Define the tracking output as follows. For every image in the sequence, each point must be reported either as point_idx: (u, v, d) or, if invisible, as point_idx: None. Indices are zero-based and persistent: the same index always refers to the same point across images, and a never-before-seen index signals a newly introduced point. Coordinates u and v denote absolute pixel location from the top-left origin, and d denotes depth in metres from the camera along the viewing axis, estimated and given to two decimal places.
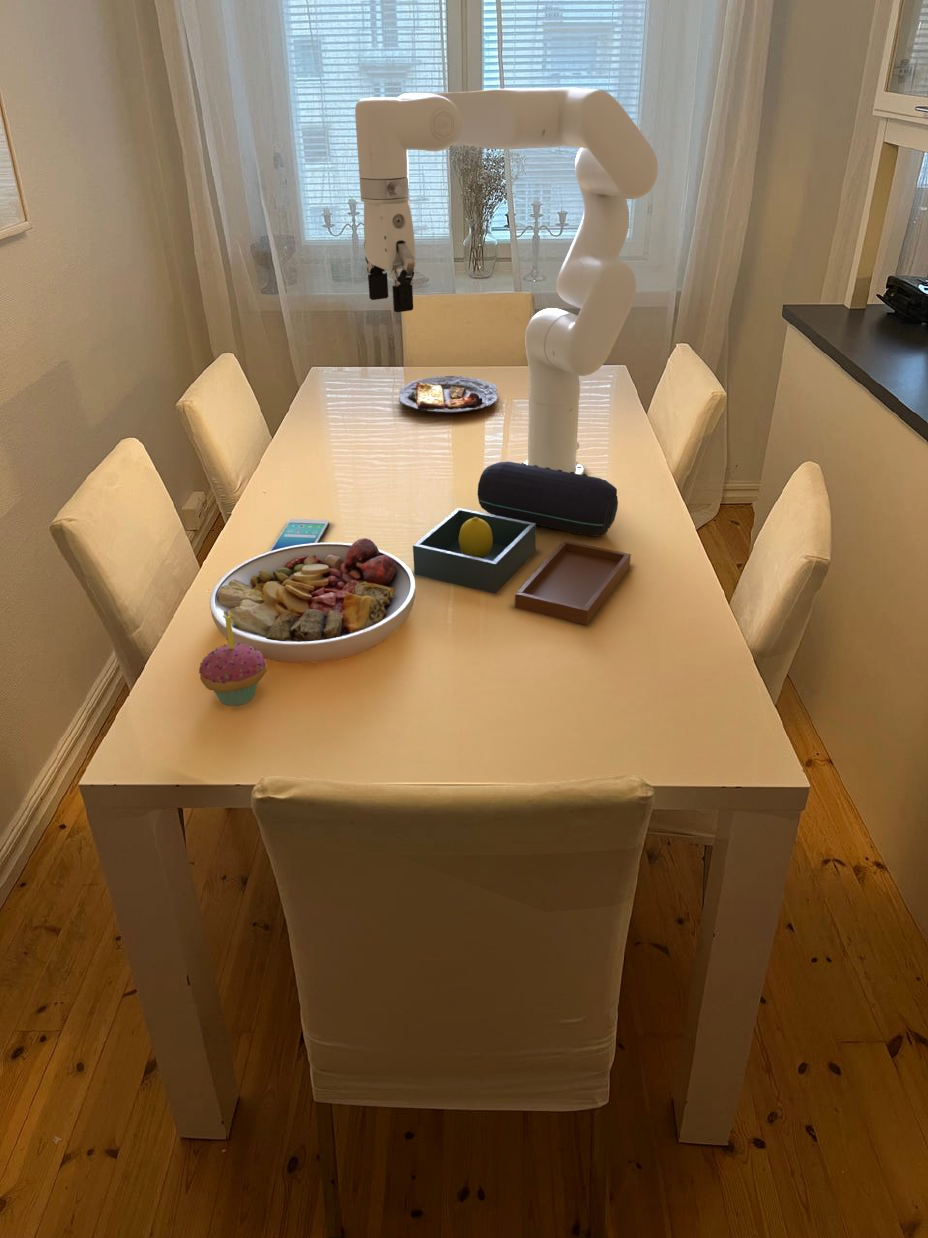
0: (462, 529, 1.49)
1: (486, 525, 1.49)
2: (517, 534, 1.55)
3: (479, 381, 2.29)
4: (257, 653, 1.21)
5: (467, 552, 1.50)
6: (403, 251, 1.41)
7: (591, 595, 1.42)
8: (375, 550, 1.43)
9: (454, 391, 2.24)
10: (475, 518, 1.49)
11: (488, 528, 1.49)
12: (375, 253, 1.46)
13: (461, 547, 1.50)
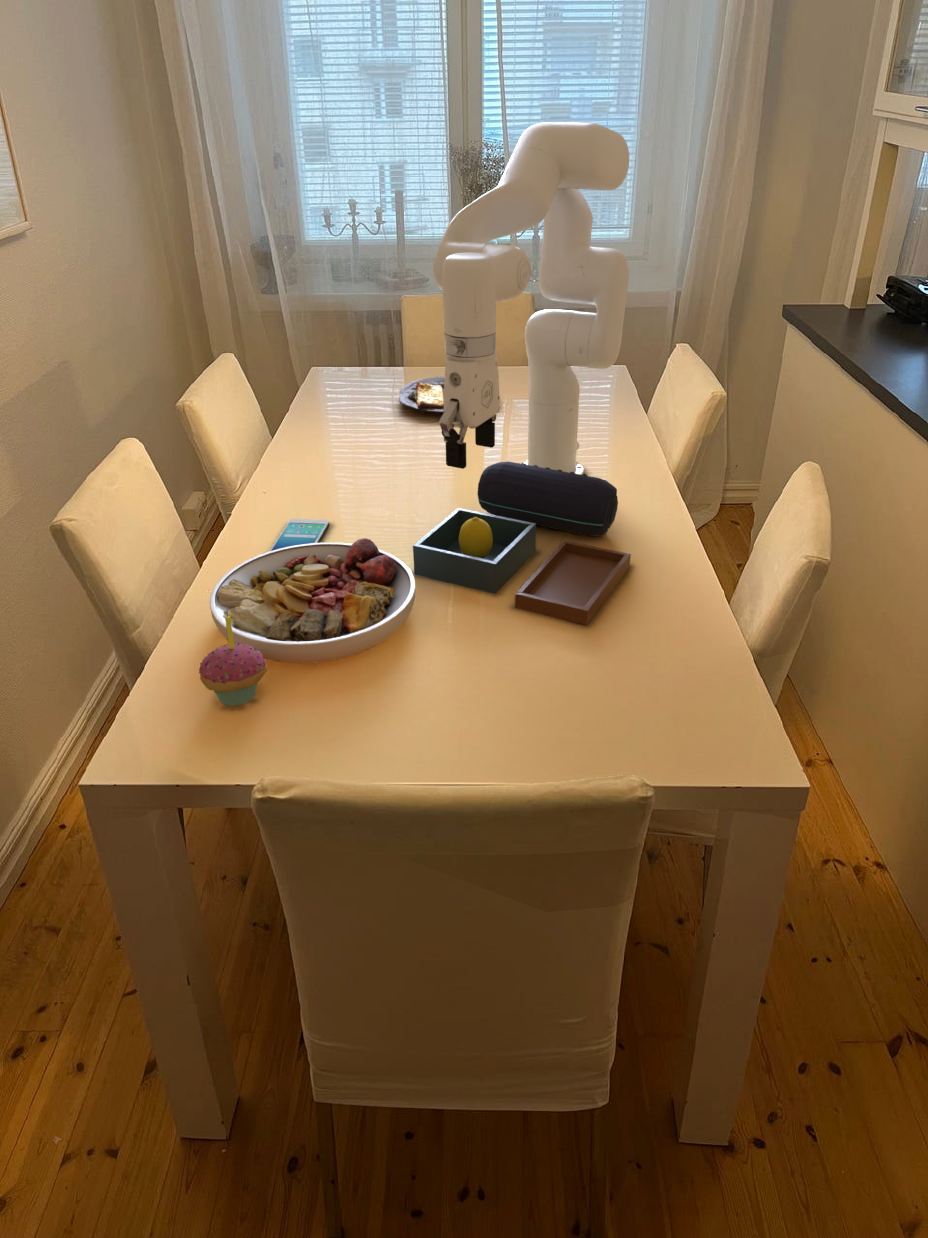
0: (462, 529, 1.49)
1: (486, 525, 1.49)
2: (517, 534, 1.55)
3: None
4: (257, 653, 1.21)
5: (467, 552, 1.50)
6: (445, 410, 1.34)
7: (591, 595, 1.42)
8: (375, 550, 1.43)
9: None
10: (475, 518, 1.49)
11: (488, 528, 1.49)
12: None
13: (461, 547, 1.50)
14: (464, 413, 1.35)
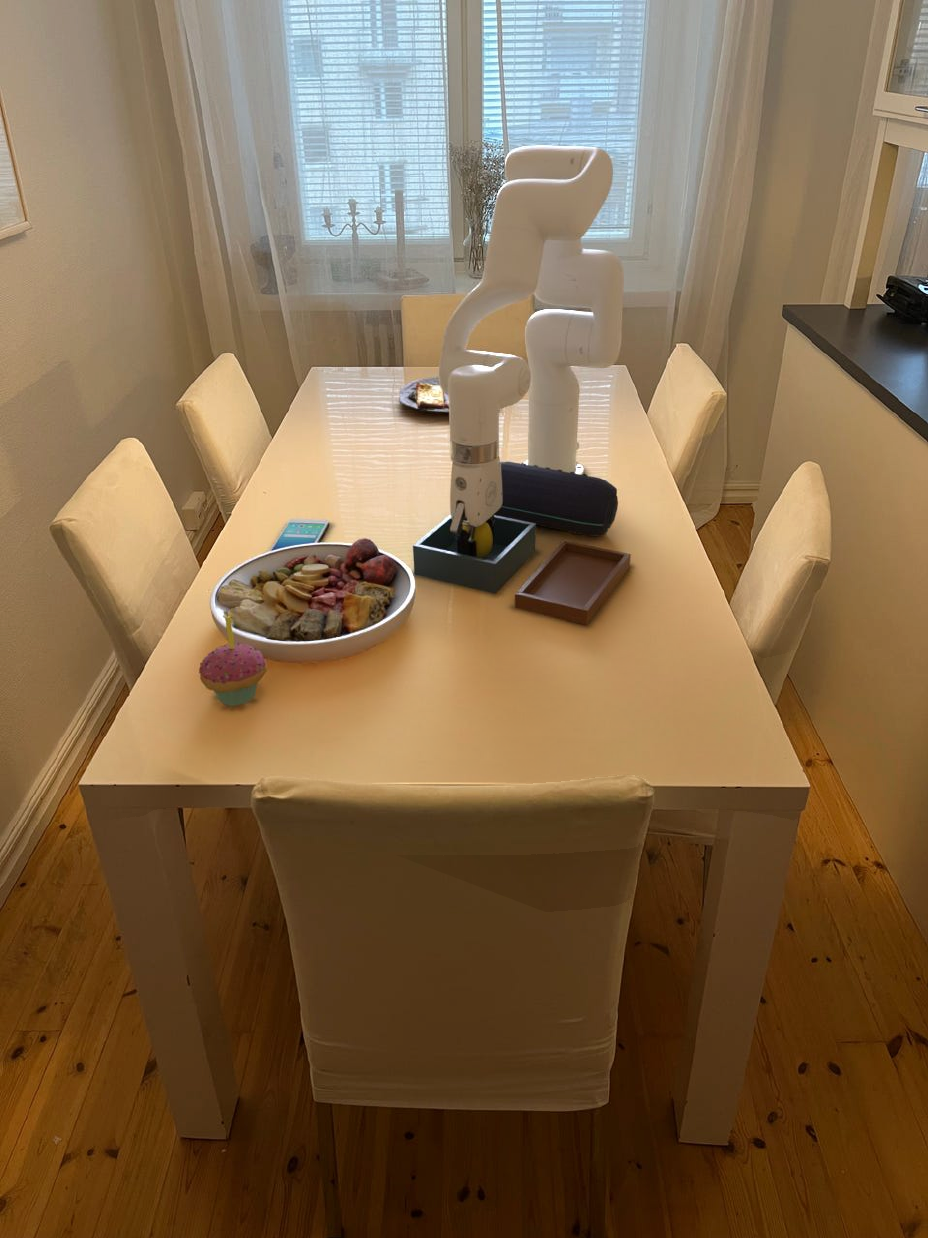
0: None
1: (486, 525, 1.49)
2: (517, 534, 1.55)
3: None
4: (257, 653, 1.21)
5: None
6: (454, 517, 1.43)
7: (591, 595, 1.42)
8: (375, 550, 1.43)
9: None
10: None
11: (488, 528, 1.49)
12: None
13: None
14: (469, 514, 1.43)
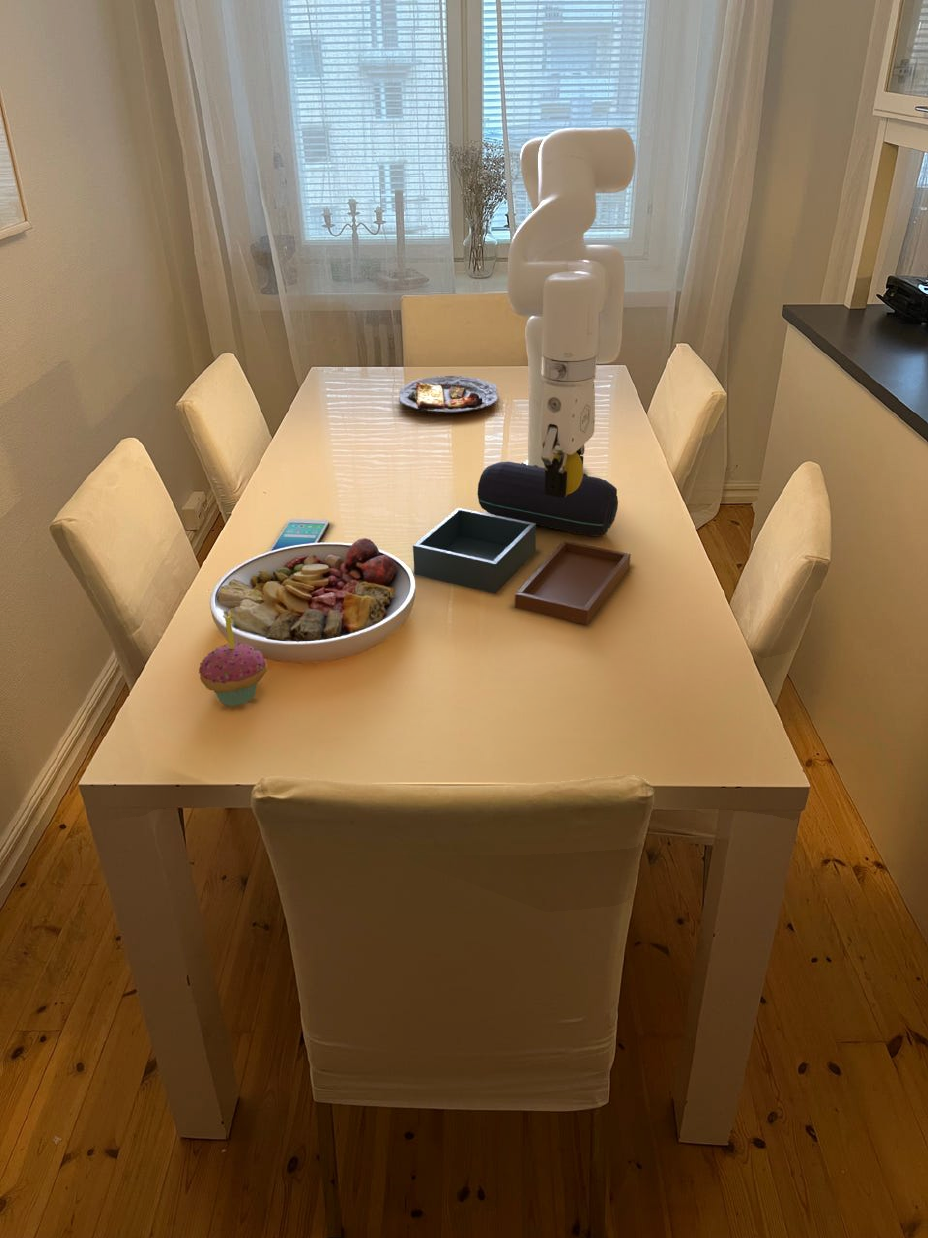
0: None
1: (577, 455, 1.35)
2: (517, 534, 1.55)
3: (479, 381, 2.29)
4: (257, 653, 1.21)
5: None
6: (545, 443, 1.29)
7: (591, 595, 1.42)
8: (375, 550, 1.43)
9: (454, 391, 2.24)
10: None
11: (579, 458, 1.35)
12: None
13: None
14: (563, 439, 1.29)
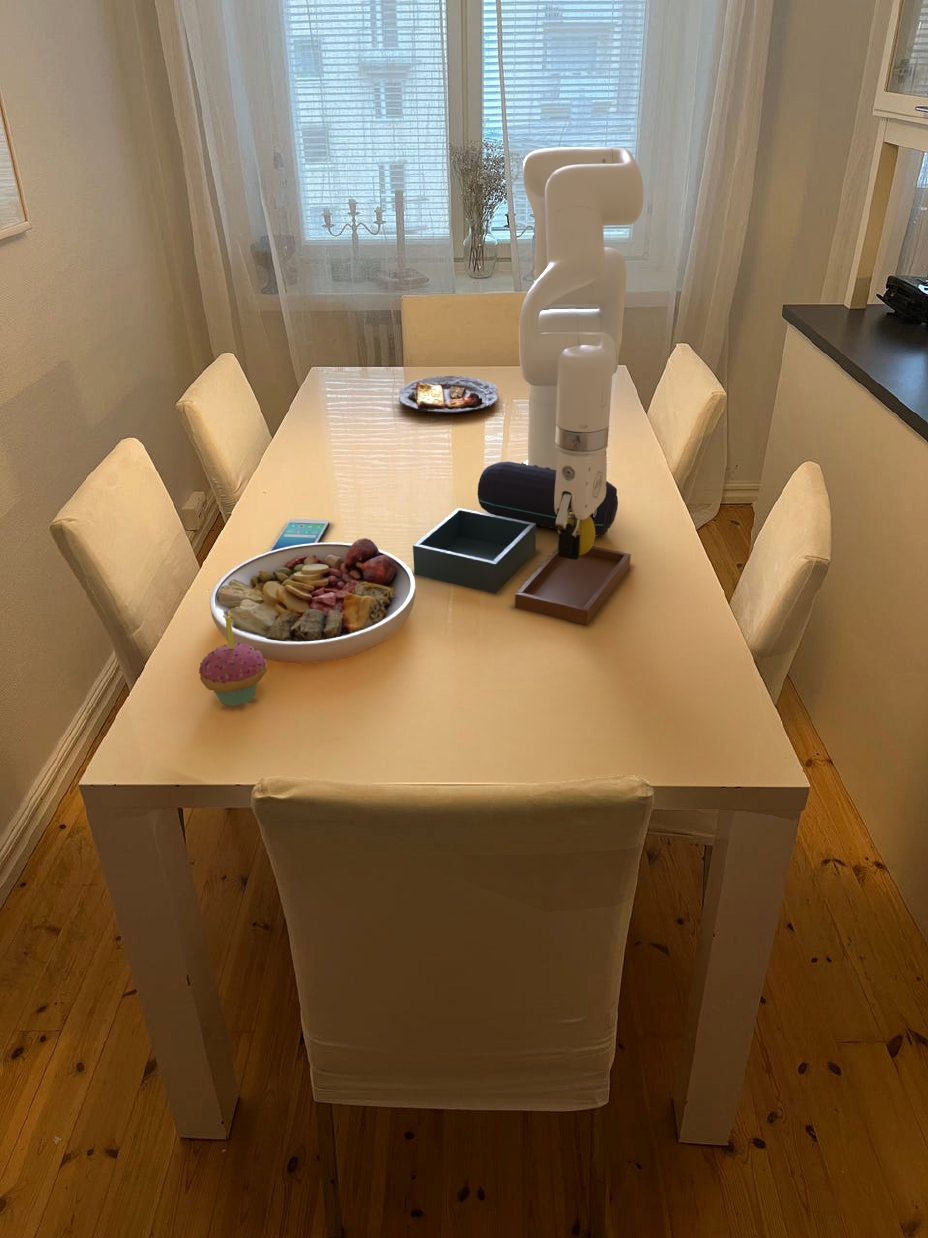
0: None
1: (589, 518, 1.39)
2: (517, 534, 1.55)
3: (479, 381, 2.29)
4: (257, 653, 1.21)
5: None
6: (560, 509, 1.33)
7: (591, 595, 1.42)
8: (375, 550, 1.43)
9: (454, 391, 2.24)
10: None
11: (591, 521, 1.39)
12: None
13: None
14: (576, 506, 1.33)
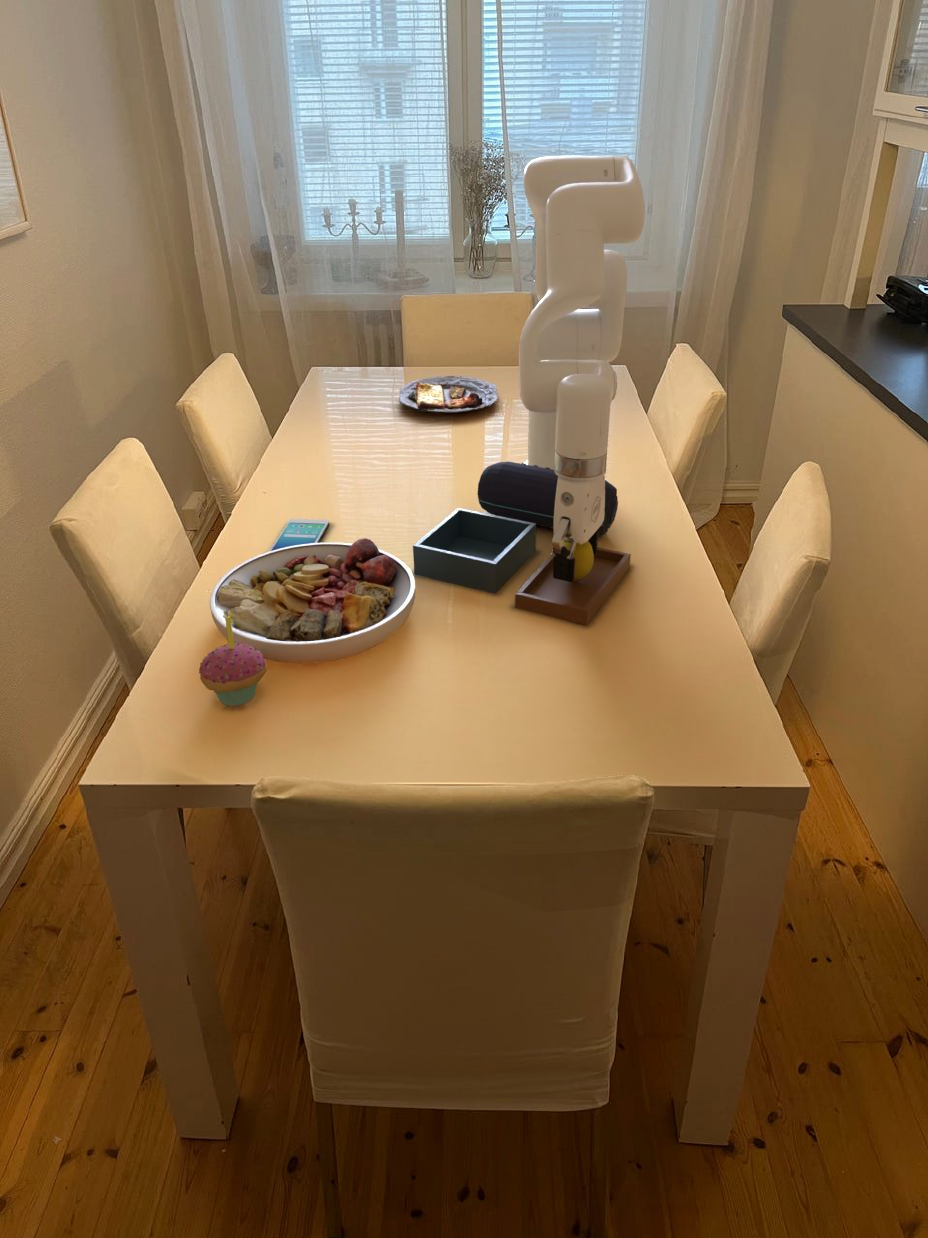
0: None
1: (588, 543, 1.41)
2: (517, 534, 1.55)
3: (479, 381, 2.29)
4: (257, 653, 1.21)
5: None
6: (557, 529, 1.34)
7: (591, 595, 1.42)
8: (375, 550, 1.43)
9: (454, 391, 2.24)
10: None
11: (590, 547, 1.41)
12: None
13: None
14: (575, 531, 1.35)
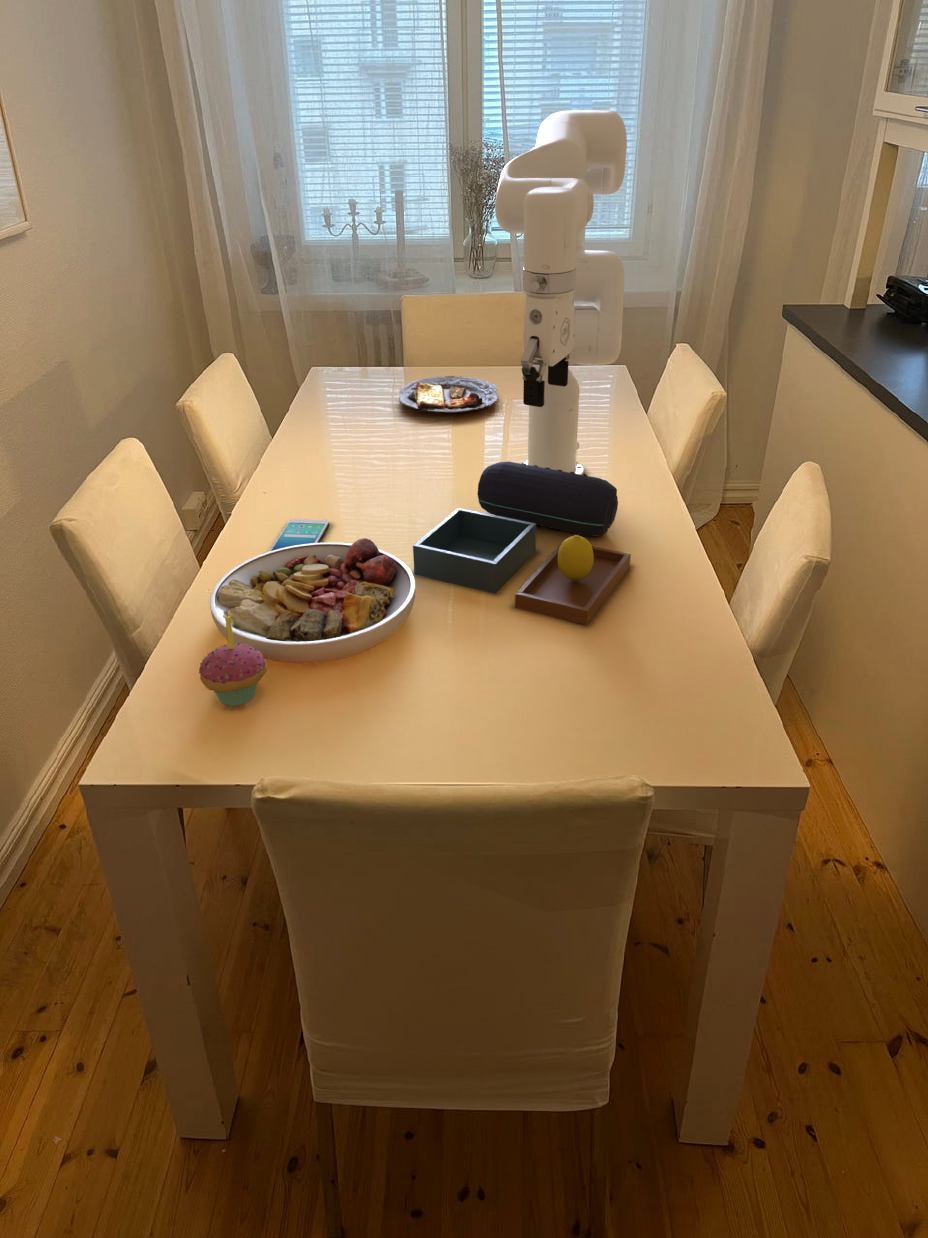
0: (562, 548, 1.42)
1: (588, 543, 1.41)
2: (517, 534, 1.55)
3: (479, 381, 2.29)
4: (257, 653, 1.21)
5: (567, 572, 1.42)
6: (526, 348, 1.34)
7: (591, 595, 1.42)
8: (375, 550, 1.43)
9: (454, 391, 2.24)
10: (576, 536, 1.41)
11: (590, 547, 1.41)
12: None
13: (561, 566, 1.43)
14: (544, 351, 1.35)
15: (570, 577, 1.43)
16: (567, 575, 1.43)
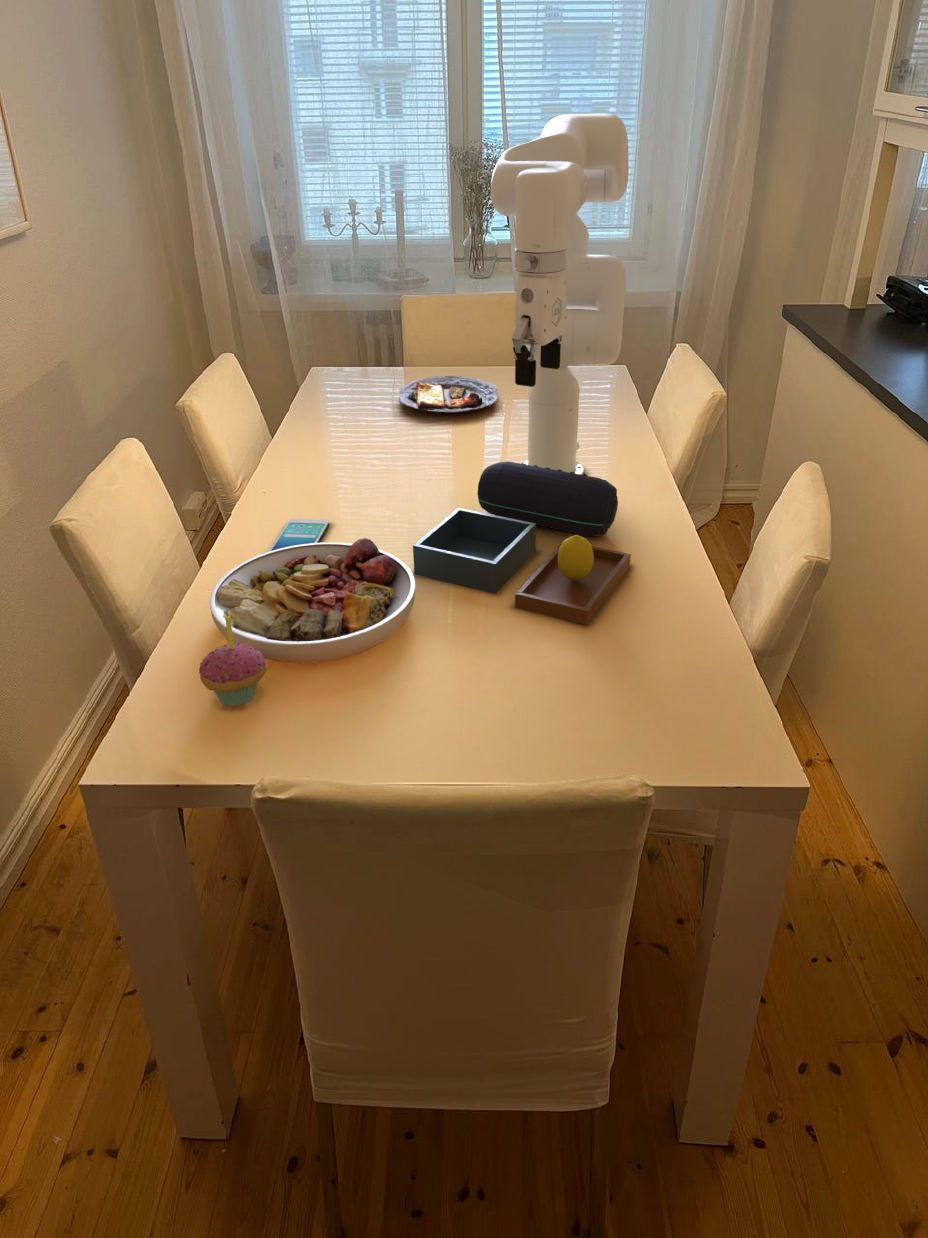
0: (562, 548, 1.42)
1: (588, 543, 1.41)
2: (517, 534, 1.55)
3: (479, 381, 2.29)
4: (257, 653, 1.21)
5: (567, 572, 1.42)
6: (517, 326, 1.36)
7: (591, 595, 1.42)
8: (375, 550, 1.43)
9: (454, 391, 2.24)
10: (576, 536, 1.41)
11: (590, 547, 1.41)
12: None
13: (561, 566, 1.43)
14: (535, 329, 1.37)
15: (570, 577, 1.43)
16: (567, 575, 1.43)
